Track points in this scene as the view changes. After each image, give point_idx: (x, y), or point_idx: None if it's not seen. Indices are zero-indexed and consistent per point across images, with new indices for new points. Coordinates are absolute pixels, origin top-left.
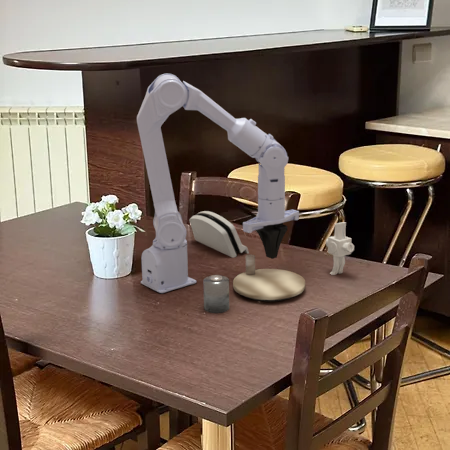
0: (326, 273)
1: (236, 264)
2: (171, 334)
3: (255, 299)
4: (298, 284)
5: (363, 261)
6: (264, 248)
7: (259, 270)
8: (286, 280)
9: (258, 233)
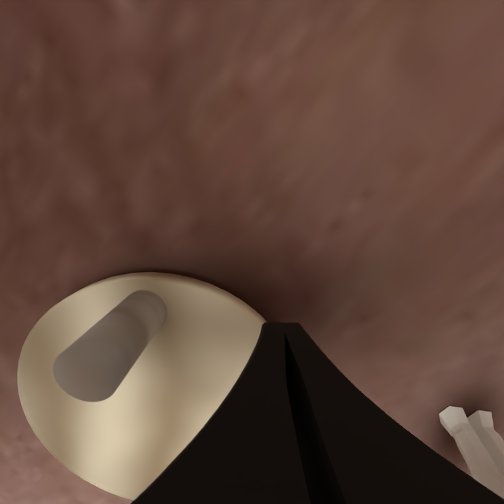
0: (439, 400)
1: (253, 60)
2: None
3: None
4: None
5: None
6: (253, 351)
7: (204, 307)
8: None
9: (159, 486)
